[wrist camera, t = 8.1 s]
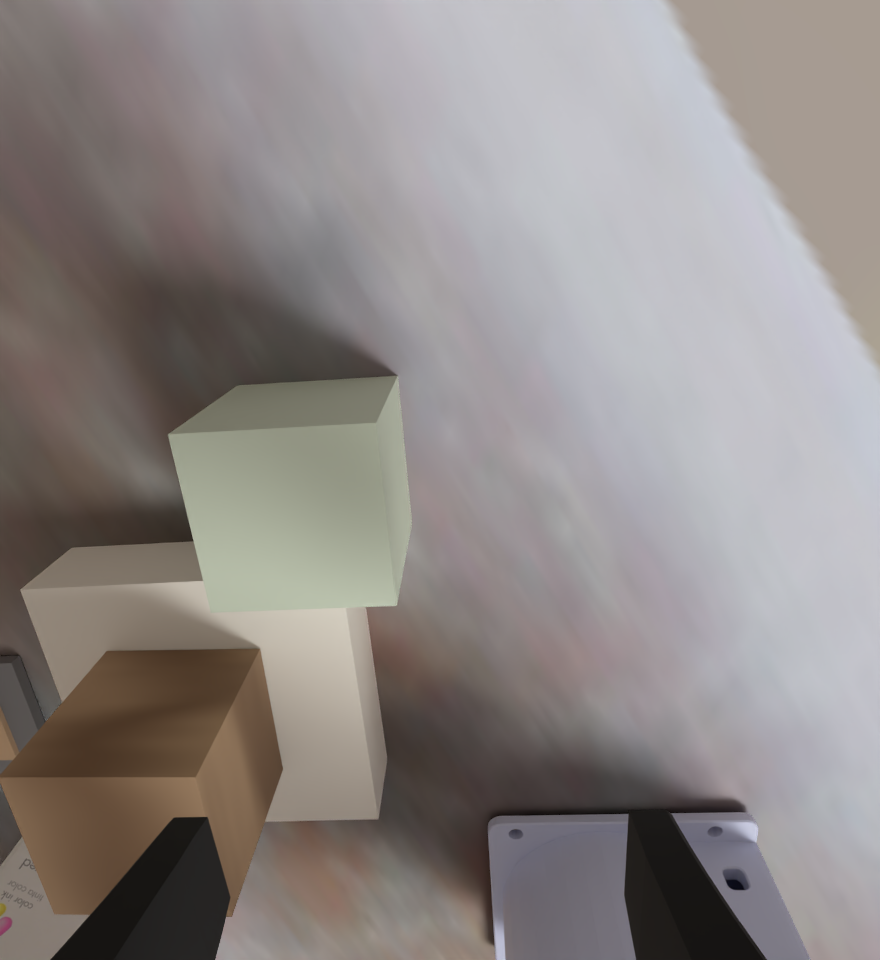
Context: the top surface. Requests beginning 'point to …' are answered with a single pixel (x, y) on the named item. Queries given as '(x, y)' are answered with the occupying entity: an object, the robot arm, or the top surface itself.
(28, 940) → the ink cartridge box
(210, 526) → the sage block
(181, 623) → the base block
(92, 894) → the walnut block
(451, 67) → the top surface
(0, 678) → the tile
